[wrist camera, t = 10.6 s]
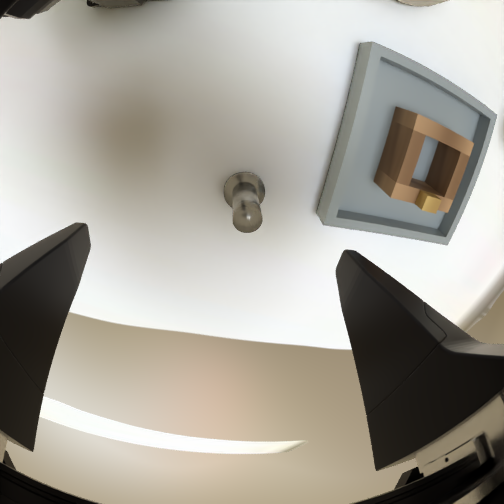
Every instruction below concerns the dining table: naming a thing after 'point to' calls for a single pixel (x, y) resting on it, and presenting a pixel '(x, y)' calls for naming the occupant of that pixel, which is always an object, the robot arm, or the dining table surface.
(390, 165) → the ring
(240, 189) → the metal knob
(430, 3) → the mug
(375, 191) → the tray
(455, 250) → the dining table surface
